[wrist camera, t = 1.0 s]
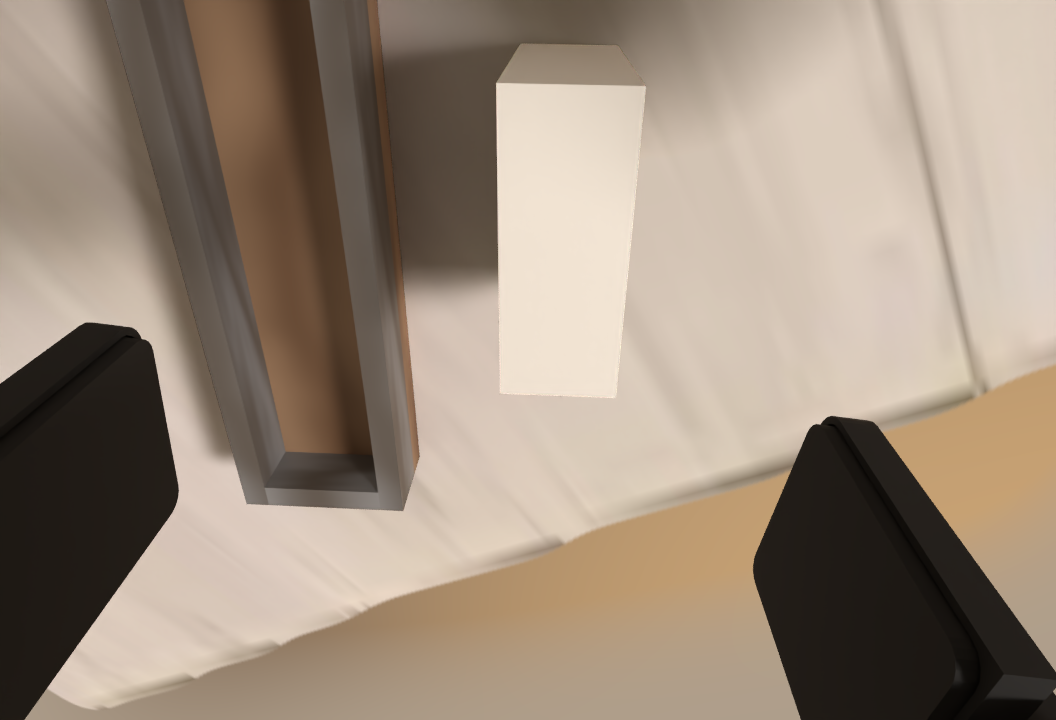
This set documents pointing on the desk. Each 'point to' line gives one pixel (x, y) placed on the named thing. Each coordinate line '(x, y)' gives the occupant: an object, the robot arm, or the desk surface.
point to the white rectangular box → (565, 215)
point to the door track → (284, 234)
